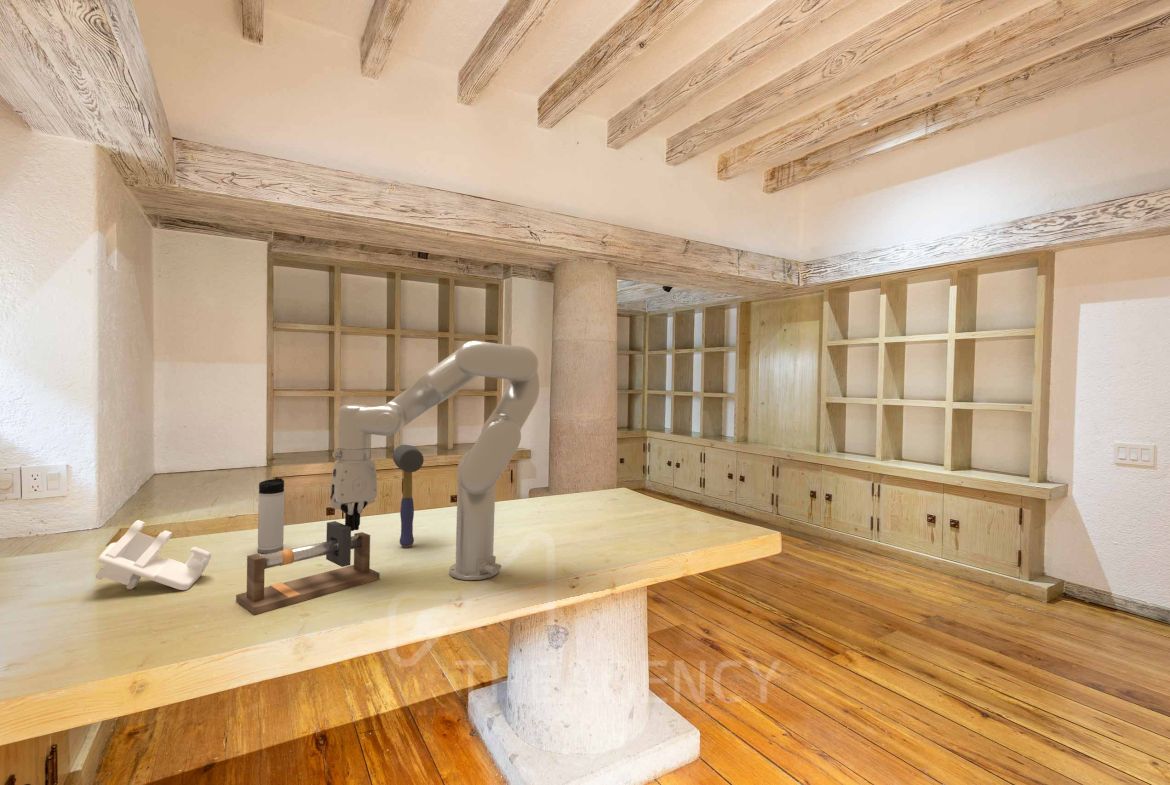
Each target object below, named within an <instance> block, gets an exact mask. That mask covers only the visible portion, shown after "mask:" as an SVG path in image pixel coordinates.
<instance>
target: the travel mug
mask: <svg viewBox="0 0 1170 785" xmlns="http://www.w3.org/2000/svg"><path fill="white" fill-rule="evenodd" d="M258 489H259V490H258V511H257V512H258V513H257V514H258V515H257V516H258V518H257V552H258V553H259V554H260V555H265V554H270V553H275V552H278V551H282V550H284V535H285V534H284V530H285V529H284V528H285V527H284V525H285V524H284V522H285V480H284V479H283V478H282V477H276V478H273V479H267V480H263V481H260V482H259V483H258Z"/></svg>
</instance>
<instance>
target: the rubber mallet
mask: <svg viewBox="0 0 1170 785" xmlns="http://www.w3.org/2000/svg"><path fill="white" fill-rule="evenodd" d="M392 461H393V462H394V464H395V466H396V467H398V469H400V470H402V471H403V472H402V474H403V477H402V478H403V480H402V482H403V483H402V484H403V485H402V498H401V502H400V513H399V516H400V522H401V523H400V538H399V544H400V546H401V547H402V548H411V547H412V546H413V544H414V542H415V537H414V534H413V533H414V532H413V531H414V530H413V529H414V525H413V524H414V522H413V521H414V516H415V514H414V513H415V509H414V508H415V505H414V498H413V473H415V472H417V471H418V470H420V469H422V466H423V464H424V461H425V460H424V455H423V454H422V452H421V451H420V450H419V449H418V448H417V447H415V446H413V445H410V444H402V445H399V446H397V447H396V448H395V449H394V450H393V452H392Z"/></svg>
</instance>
